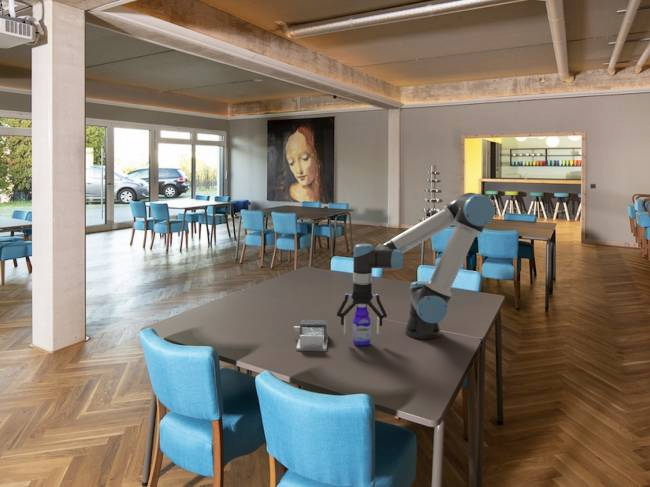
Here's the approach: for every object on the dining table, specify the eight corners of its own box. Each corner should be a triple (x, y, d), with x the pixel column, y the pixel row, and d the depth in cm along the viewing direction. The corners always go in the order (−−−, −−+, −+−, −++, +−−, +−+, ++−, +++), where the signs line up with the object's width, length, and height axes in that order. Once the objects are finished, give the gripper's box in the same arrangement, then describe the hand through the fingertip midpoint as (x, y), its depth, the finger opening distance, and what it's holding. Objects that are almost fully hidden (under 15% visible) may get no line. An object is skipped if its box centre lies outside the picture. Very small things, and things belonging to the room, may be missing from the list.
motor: (328, 335, 208) (328, 320, 207) (327, 340, 202) (327, 324, 201) (294, 335, 209) (294, 319, 208) (293, 340, 203) (292, 324, 202)
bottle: (355, 347, 195) (355, 305, 192) (350, 342, 201) (351, 301, 198) (372, 345, 197) (373, 304, 194) (367, 340, 203) (368, 300, 200)
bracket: (327, 341, 202) (327, 327, 201) (326, 351, 191) (326, 336, 190) (298, 340, 202) (298, 326, 201) (296, 350, 192) (296, 335, 191)
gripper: (392, 280, 198) (391, 330, 201) (331, 279, 199) (331, 329, 202) (394, 285, 191) (392, 336, 194) (331, 283, 192) (330, 335, 195)
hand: (361, 333), depth 198 cm, fingers open, 13 cm apart
